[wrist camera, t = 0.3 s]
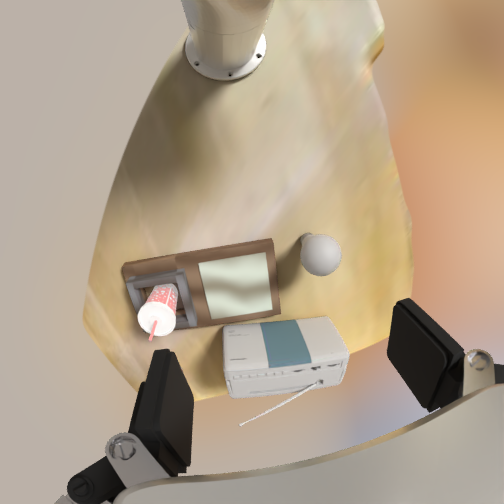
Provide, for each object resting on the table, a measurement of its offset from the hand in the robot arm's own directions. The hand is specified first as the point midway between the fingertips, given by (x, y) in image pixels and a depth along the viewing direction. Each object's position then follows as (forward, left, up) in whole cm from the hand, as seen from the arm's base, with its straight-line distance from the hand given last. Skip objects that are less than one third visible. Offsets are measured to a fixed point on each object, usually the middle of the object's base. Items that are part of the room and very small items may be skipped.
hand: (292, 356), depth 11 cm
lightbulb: (+9, +10, -36) cm, 38 cm away
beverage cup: (+15, -16, -36) cm, 42 cm away
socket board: (+15, -9, -36) cm, 40 cm away
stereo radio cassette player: (+27, +3, -36) cm, 46 cm away
